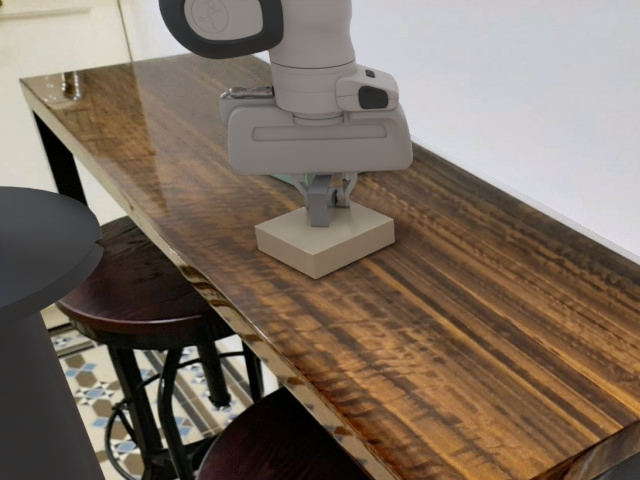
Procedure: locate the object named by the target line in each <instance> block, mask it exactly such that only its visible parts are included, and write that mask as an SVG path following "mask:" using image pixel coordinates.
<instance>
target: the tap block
mask: <svg viewBox="0 0 640 480" xmlns="http://www.w3.org/2000/svg"><path fill="white" fill-rule="evenodd" d="M253 227H254V232H255V238H256V244H257V249H258V251H260V252H262V253H264V254H266V255H267V256H269V257H272V258H274V259H276V260H277V261H279V262H281V263H284V264H286V265H287V266H289V267H290V268H292V269H295V270H297V271H299V272H300V273H302V274H304V275H306V276H308V277H309V278H312V279H314V280H318V279H320V278H323V277H324V276H326V275H329V274H330V273H333V272H335V271H337V270H339V269H341V268H343V267H345V266H347V265H349V264H352V263H354V262H356V261H358V260H359V259H362V258H364V257H366V256H369V255H370V254H373V253H375V252H377V251H379V250H381V249H383V248H385V247H388V246H390V245H392V244H394V243H395V242H396V237H395V219H394V218H392V217H390V216H388V215H385V214H383V213H381V212H379V211H376V210H374V209H371V208H369V207H366V206H364V205H362V204H359V203H357V202H355V201H353V200H350V207H338V203H337V205H336V208H335V211H334V214H333V216H332V219H331V222H330V225H329V227H316V226H311V222H310V214H309V209H306V208H305V205H304V206H302V207H299V208H297V209H294V210H291V211H289V212H287V213H283V214H281V215H278V216H277V217H274V218H270V219H268V220H266V221H263V222H260V223H258V224H255V225H254V226H253Z"/></svg>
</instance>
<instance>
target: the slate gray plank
mask: <svg viewBox="0 0 640 480" xmlns="http://www.w3.org/2000/svg"><path fill="white" fill-rule="evenodd" d="M343 181H344V179H343V180H342V172H336V173H316V175H315V177H314V179H313V181H312V183H311V186H310V188H309V190H308V192H307V197H308V205H309V214H310V222H311V226H316V227H329V225H330V222H331V219H332V216H333V214H334V211H335V208H336V205H337V191H336V188H343V187H344V183H343Z"/></svg>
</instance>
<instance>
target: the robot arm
mask: <svg viewBox="0 0 640 480" xmlns="http://www.w3.org/2000/svg"><path fill="white" fill-rule="evenodd" d="M157 2H158V8H159V13H160V15H161V19H162V21H163V23H164V25H165V27H166V28H167V30H168V32H169V33H170V35H171V36H172V37H173V39H174V40H175V41H176V42H177V43H178V44H180V45H181V46H182V47H183V48H185V50H187V51H189V52H190V53H193V54H194V55H196V56H199V57H201V58H205V59H210V60H229V59H234V58H241V57H246V56H251V55H255V54H259V53H263V52H266V51H267V52H268V57H269V63H270V73H271V79H272V85H265V86H263V85H262V86H260V85H259V86H252V87H243V86H233V87H230V88H229V90H227V91H225V92H223V93H222V94H220V95H219V97H218V100H217V109H218V116H219V120H220V122H221V124H222V126H224V127H225V128H226V129H227V150H228V151H227V152H228V158H229V159H228V160H229V166H230V169H231V170H232V171H233V172H234V173H235V174H237V175H238V176H240V177H248V176H252V177H253V176H271V175H280V174H291V177H292V183H293V184H294V185H295V186H294V185H293V186H294V188H296V190H297V191H298V192H299V193H300V194H301V196H303V201H304V206H305V208H306V209H309V205H308V197H307V192H308V190H309V188H308V186H307V185H306V183H305V182H304V180H305V174H308V173H336V172H345V179H344V180H345V183H344V184H343V188H336V191H337V203H338V207H350V201H351V199H350V194H352V191H353V190H354V188H355V187H356V184H357V183H358V179H359V178H358V174H357V172H362V173H364V172H389V171H390V172H391V171H393V172H394V171H406V170H408V169H409V168H410V166H411V165H412V163H413V162H414V155H413V154H414V153H413V146H412V145H413V144H412V138H411V133H410V127H409V124H408V120H407V119H408V118H407V116H406V113H405V110H404V108H403V106H402V104H401V103H400V89H399V85H398V83H397V80H396V79H395V78H394V76H393V75H392V74H390V73H388V72H385V71H382V70H379V69H376V68H373V67H369V66H366V65H363V64H359V63H358V62H357V59H356V51H355V47H354V44H353V41H352V38H351V37H352V36H351V21H352V17H353V3H352V2H353V1H352V0H158V1H157Z"/></svg>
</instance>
